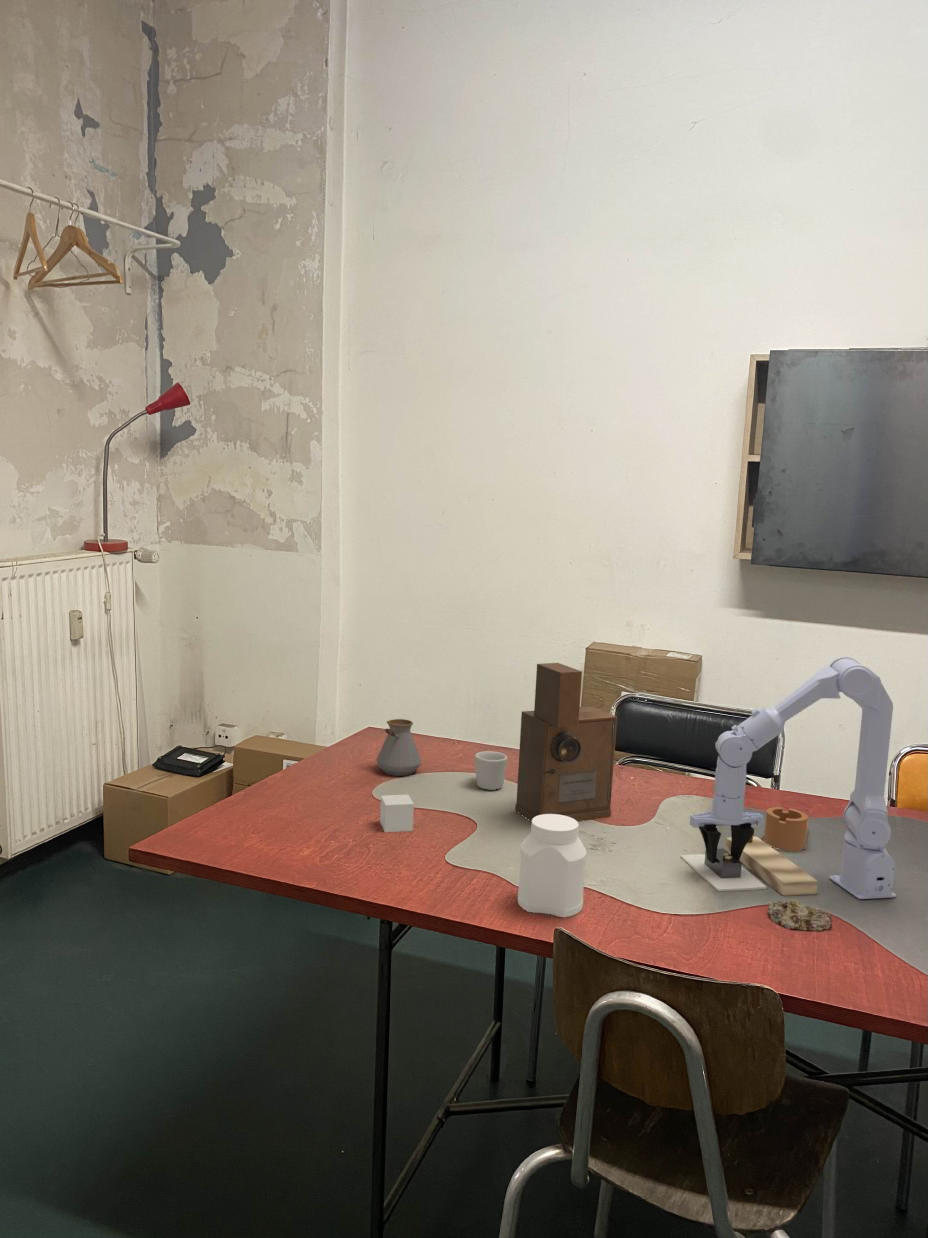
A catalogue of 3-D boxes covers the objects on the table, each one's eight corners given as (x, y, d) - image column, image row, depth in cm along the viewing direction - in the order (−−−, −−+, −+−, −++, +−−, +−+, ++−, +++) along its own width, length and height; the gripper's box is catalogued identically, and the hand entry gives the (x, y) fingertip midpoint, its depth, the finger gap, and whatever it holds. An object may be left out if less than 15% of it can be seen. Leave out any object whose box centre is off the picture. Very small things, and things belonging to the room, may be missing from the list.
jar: (512, 910, 157) (517, 827, 155) (522, 887, 166) (527, 809, 164) (579, 920, 154) (585, 836, 152) (585, 896, 164) (591, 817, 162)
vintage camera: (547, 833, 193) (557, 672, 188) (515, 811, 206) (523, 659, 201) (621, 823, 202) (632, 668, 197) (585, 802, 214) (595, 656, 209)
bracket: (803, 855, 188) (806, 823, 187) (761, 847, 192) (764, 816, 191) (808, 828, 205) (812, 798, 204) (770, 821, 208) (773, 792, 207)
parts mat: (766, 889, 171) (767, 887, 170) (718, 891, 168) (718, 889, 168) (725, 855, 186) (725, 853, 186) (680, 857, 184) (680, 855, 184)
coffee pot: (382, 762, 237) (384, 706, 235) (425, 766, 236) (427, 710, 234) (360, 788, 217) (362, 727, 214) (407, 793, 215) (409, 731, 213)
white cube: (412, 831, 191) (413, 804, 190) (384, 832, 190) (385, 805, 189) (407, 821, 197) (408, 794, 196) (379, 822, 195) (380, 795, 195)
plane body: (816, 893, 169) (819, 868, 169) (782, 895, 168) (785, 870, 167) (755, 847, 191) (757, 825, 190) (724, 849, 189) (726, 826, 189)
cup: (463, 780, 226) (464, 749, 225) (491, 777, 230) (493, 746, 228) (482, 794, 217) (483, 761, 215) (511, 790, 220) (513, 758, 219)
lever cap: (740, 877, 174) (742, 858, 174) (721, 878, 173) (723, 859, 173) (722, 862, 181) (724, 844, 180) (704, 863, 180) (705, 845, 180)
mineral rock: (766, 914, 155) (770, 885, 162) (763, 934, 157) (767, 904, 164) (833, 930, 152) (834, 899, 158) (830, 950, 153) (831, 919, 160)
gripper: (752, 786, 180) (746, 851, 182) (685, 787, 177) (679, 854, 179) (771, 798, 174) (764, 865, 175) (701, 800, 170) (695, 868, 172)
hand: (723, 860), depth 177 cm, fingers open, 4 cm apart
